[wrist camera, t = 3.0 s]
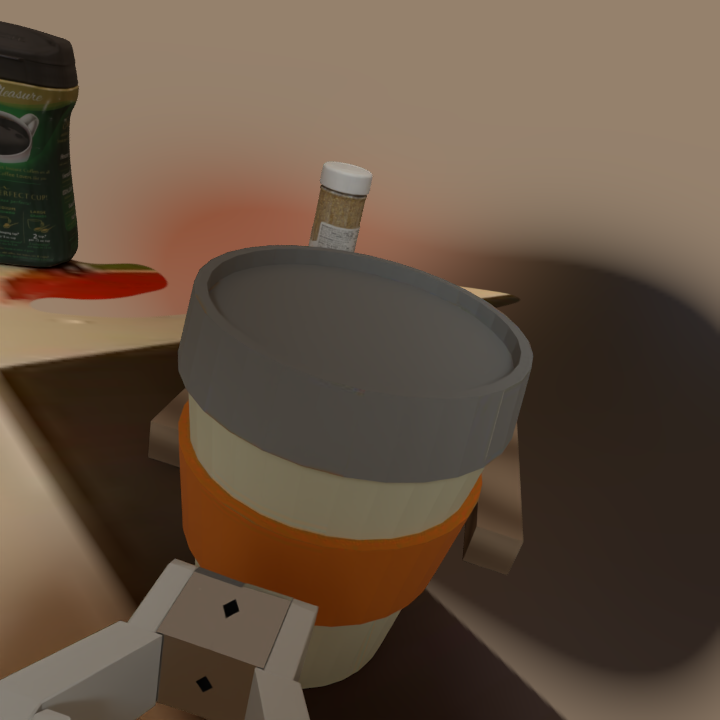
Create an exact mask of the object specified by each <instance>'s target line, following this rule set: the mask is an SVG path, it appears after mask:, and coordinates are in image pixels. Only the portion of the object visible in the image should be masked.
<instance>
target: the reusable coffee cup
mask: <svg viewBox="0 0 720 720" xmlns="http://www.w3.org/2000/svg"><path fill="white" fill-rule="evenodd" d="M532 359H533V354H532V351H531V348H530V344H529V341H528V340H527V339H526V337H525V336H524V334H523V333H522V332H521V330H520V329H519V328H518V327H517V326H516V325H515V324H514V323H513V322H512V321H511V320H510V319H509V318H508V317H506V315H505V314H503V313H502V312H500V311H499V310H498V309H496V308H495V307H493V306H492V305H491V304H489V303H488V302H486V301H485V300H483V299H481V298H479V297H478V296H476V295H474V294H472V293H471V292H469V291H467V290H465V289H463V288H461V287H459V286H457V285H455V284H452V283H450V282H448V281H446V280H444V279H441V278H439V277H436V276H434V275H431V274H429V273H426V272H424V271H421V270H418V269H415V268H412V267H409V266H406V265H403V264H399V263H396V262H393V261H388V260H385V259H381V258H377V257H373V256H369V255H364V254H359V253H354V252H349V251H344V250H337V249H330V248H322V247H311V246H297V245H275V246H274V245H273V246H272V245H269V246H260V247H250V248H244V249H240V250H236V251H231V252H227V253H225V254H223V255H221V256H218V257H216V258H214V259H212V260H210V261H209V262H208V263H207V264H206V265H204V266H203V267H202V268H201V269H200V270H199V272H198V274H197V276H196V279H195V281H194V284H193V289H192V294H191V298H190V302H189V306H188V311H187V315H186V319H185V324H184V328H183V333H182V337H181V341H180V346H179V350H178V371H179V373H180V375H181V378H182V380H183V383H184V385H185V387H186V390H187V391H188V393H189V400H188V401H187V402H186V404H185V405H184V407H183V410H182V413H181V416H180V419H179V422H178V432H179V458H180V477H181V497H182V517H183V530H184V533H185V536H186V540H187V543H188V546H189V549H190V551H191V552H192V554H193V555H194V557H195V566H198V567H201V568H204V569H207V570H209V571H212V572H215V573H218V574H220V575H223V576H226V577H229V578H231V579H234V580H237V581H240V582H242V583H245V584H246V583H248V584H251V585H254V586H257V587H260V588H264V589H267V590H270V591H273V592H276V593H279V594H282V595H286V596H289V597H292V598H294V599H297V600H300V601H303V602H306V603H309V604H312V605H315V606H318V607H319V608H318V613H317V617H316V621H315V624H314V628H313V632H312V636H311V640H310V643H309V647H308V651H307V654H306V658H305V661H304V665H303V668H302V672H301V675H300V678H299V681H298V682H299V683H301V687H302V689H305V688H313V687H321V686H326V685H329V684H332V683H335V682H338V681H341V680H344V679H345V678H347V677H349V676H350V675H352V674H354V673H356V672H357V671H359V670H360V669H361V668H362V667H363V666H364V665H365V664H366V663H367V662H369V661H370V660H371V659H372V657H373V656H374V654H375V653H376V651H377V650H378V648H379V647H380V645H381V643H382V642H383V640H384V638H385V637H386V635H387V633H388V632H389V630H390V628H391V626H392V625H393V623H394V621H395V620H396V618H397V616H398V614H399V613H400V611H401V609H403V608H404V607H406V606H408V605H409V604H410V603H411V602H412V601H413V600H414V599H416V598H417V597H418V596H419V595H420V594H421V593H422V592H423V591H424V590H425V588H426V586H427V585H428V583H429V581H430V580H431V579H432V577H433V575H434V574H435V572H436V570H437V569H438V567H439V565H440V564H441V562H442V560H443V559H444V557H445V556H446V554H447V552H448V550H449V549H450V547H451V546H452V544H453V542H454V540H455V539H456V537H457V535H458V534H459V532H460V530H461V529H462V527H463V526H464V524H465V522H466V521H467V519H468V517H469V516H470V514H471V512H472V511H473V509H474V507H475V506H476V504H477V502H478V500H479V496H480V492H481V487H482V474H481V473H482V471H483V470H484V468H485V466H486V465H488V464H489V463H491V462H492V461H493V460H495V459H496V458H497V457H499V456H500V455H502V453H503V452H504V450H505V449H506V447H507V446H508V444H509V443H510V441H511V440H512V437H513V433H514V429H515V426H516V422H517V418H518V414H519V411H520V407H521V404H522V400H523V396H524V393H525V389H526V385H527V382H528V378H529V374H530V371H531V366H532Z"/></svg>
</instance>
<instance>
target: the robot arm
mask: <svg viewBox="0 0 720 720" xmlns="http://www.w3.org/2000/svg"><path fill="white" fill-rule="evenodd" d="M318 608H319V607H318V606H315V605H312V604H309V603H306V602H303V601H300V600H297V599H294V598H292V597H289V596H286V595H282V594H279V593H276V592H273V591H270V590H267V589H264V588H260V587H257V586H254V585H251V584H248V583H246V584H245V583H242V582H240V581H237V580H234V579H231V578H229V577H226V576H223V575H220V574H218V573H215V572H212V571H209V570H207V569H204V568H201V567H198V566H195V565H192V564H189V563H186V562H184V561H181V560H178V559H174V560H173V561H172V562H170V563H169V564H168V565H167V567H166V568H165V570H164V571H163V572H162V574H161V575H160V577H159V578H158V580H157V581H156V582H155V584H154V585H153V587H152V588H151V590H150V591H149V592H148V594H147V595H146V597H145V598H144V600H143V601H142V602H141V604H140V605H139V607H138V608H137V610H136V611H135V612H134V614H133V615H132V617H131V618H130V620H129V621H128V622H123V621H118V622H116V623H114V624H112V625H110V626H108V627H106V628H104V629H102V630H100V631H98V632H96V633H94V634H92V635H90V636H88V637H86V638H84V639H82V640H80V641H78V642H76V643H74V644H72V645H70V646H68V647H66V648H64V649H62V650H60V651H58V652H56V653H54V654H52V655H50V656H48V657H46V658H44V659H41V660H39V661H37V662H35V663H33V664H31V665H29V666H27V667H25V668H23V669H21V670H19V671H17V672H15V673H13V674H11V675H9V676H7V677H5V678H3V679H1V680H0V720H136V719H137V718H139V717H140V716H141V715H143V714H144V713H145V712H147V711H148V710H149V709H151V708H152V707H154V706H155V703H156V702H157V703H161V704H164V705H167V706H170V707H173V708H176V709H179V710H182V711H185V712H188V713H191V714H194V715H198V716H200V717H203V718H205V719H208V720H310V718H309V714H308V710H307V706H306V703H305V699H304V695H303V691H302V687H301V683H299V682H298V681H299V678H300V675H301V672H302V668H303V665H304V661H305V658H306V654H307V651H308V647H309V643H310V640H311V636H312V632H313V628H314V624H315V621H316V617H317V613H318Z"/></svg>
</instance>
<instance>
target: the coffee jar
mask: <svg viewBox="0 0 720 720" xmlns="http://www.w3.org/2000/svg"><path fill="white" fill-rule="evenodd" d="M78 89H79V86H78V80H77V73H76V67H75V59H74V53H73V49H72V45H71V43H70V42H69V41H67V40H66V39H63V38H60V37H56V36H53V35H50V34H47V33H44V32H41V31H37V30H34V29H30V28H27V27H22V26H19V25H14V24H10V23H6V22H1V21H0V263H5V264H12V265H23V266H33V267H52V266H55V265H58V264H61V263H64V262H68V261H69V260H71V259H72V258H73V256H74V254H75V253H76V251H77V248H78V230H77V218H76V210H75V202H74V193H73V184H72V175H71V165H70V149H69V125H70V116H71V112H72V110H73V108H74V106H75V103H76V101H77V97H78Z"/></svg>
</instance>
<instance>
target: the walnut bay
mask: <svg viewBox="0 0 720 720" xmlns="http://www.w3.org/2000/svg"><path fill="white" fill-rule="evenodd" d="M529 344H530V343H529ZM188 400H189V393H188V391H187V390H186V388H185V389H184V390H183V391H182V392H181V393H180V394H178V395H177V396H176V397H175V398H174V399H173V400H172V401H171V402H170V403H169V404H168V405H167V406H166V407H165V408H164V409H163V410H162V411H161V412H160V413H159V414H158V415H157V416H156V417H155V418H154V419H153V420H152V421H151V427H150V439H149V452H148V457H149V458H152V459H155V460H158V461H161V462H164V463H167V464H170V465H173V466H177V467H180V458H179V432H178V422H179V419H180V416H181V413H182V410H183V407H184V405H185V404H186V402H187V401H188ZM481 474H482V487H481V492H480V496H479V500H478V502H477V504H476V506H475V507H474V509H473V511H472V512H471V514H470V516H469V517H468V519H467V521H466V522H465V536H464V548H463V561H465V562H468V563H472V564H474V565H477V566H480V567H484V568H487V569H490V570H493V571H496V572H499V573H502V574H505V575H508V573H509V571H510V569H511V567H512V564H513V562H514V560H515V558H516V556H517V554H518V552H519V550H520V548H521V545H522V543H523V525H522V507H521V488H520V470H519V451H518V432H517V422H516V426H515V429H514V433H513V437H512V440H511V441H510V443H509V444H508V446H507V447H506V449H505V450H504V452H503V453H502V455H500V456H499V457H497V458H496V459H495V460H493V461H492V462H491V463H489V464H488V465H486V466H485V468H484V470H483V471H482V473H481Z"/></svg>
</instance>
